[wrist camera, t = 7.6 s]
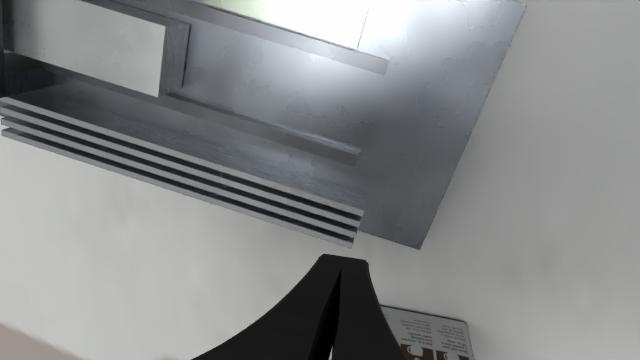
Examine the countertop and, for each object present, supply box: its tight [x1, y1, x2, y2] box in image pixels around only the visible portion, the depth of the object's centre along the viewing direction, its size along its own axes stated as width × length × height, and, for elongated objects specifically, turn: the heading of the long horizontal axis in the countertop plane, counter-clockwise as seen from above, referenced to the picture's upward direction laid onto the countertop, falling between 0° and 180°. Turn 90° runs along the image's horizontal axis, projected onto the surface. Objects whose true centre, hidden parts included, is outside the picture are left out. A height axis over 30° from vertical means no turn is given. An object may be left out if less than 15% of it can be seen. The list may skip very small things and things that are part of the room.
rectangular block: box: [1, 0, 190, 97], centre depth 19 cm, size 10×3×2 cm, turn 75°
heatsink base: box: [0, 0, 527, 250], centre depth 18 cm, size 25×12×5 cm, turn 75°
